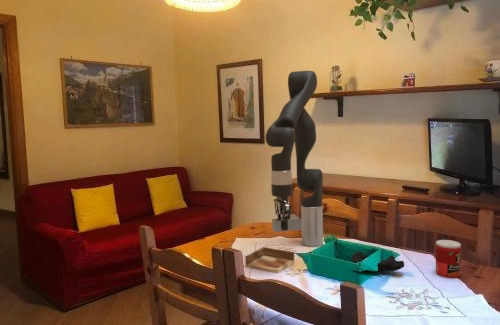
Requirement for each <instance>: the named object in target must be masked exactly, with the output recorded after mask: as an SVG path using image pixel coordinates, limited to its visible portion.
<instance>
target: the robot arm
mask: <svg viewBox="0 0 500 325" xmlns="http://www.w3.org/2000/svg"><path fill="white" fill-rule="evenodd" d="M287 87H288V95H289V99H290V100H288V101H287V102H286V103H285V104H284V106H283V107H282V108H281V109H282V110H281V112H280V114H279V116H278V117H277V119H276V120H275V121H273V123H272V124H271V125H270V126H269V128H268V129H267V131H266V133H265V142H266V144H267V145H268V146H269V147H271V148H272V147H273V148H282V150H281V152H279V153H275V154H272V156H271V160H270V162H271V175H270V180H271V183H270V184H271V186H270V188H271V196H272V197H275V198H274V199H273V202H274V203H273V204H274V210H275V211H274V212H275V215H276V217H277V218H281V226H282V230H283V231H282V232H287V231H286V230H288V220H289V219H290V215H291V212H292V211H291V210H292V205H291V204H290V201H289V199H288V197H291V196H292V195H293V175H292V162H291V161H292V154H293V150H294V147H295V159H296V160H295V161H296V163H295V164H296V183H297V187H298V189H299V190H301V191H313V194H311V195H309V196H306V197H303V198H302V199H301V200H300V205H301V206H300V207H301V208H300V209H301V210H300V214H301V215H300V216H301V217H300V218H301V229H302V230H301V245H303V246H306V247H319V246H322V245H323V244H324V224H323V223H324V222H323V221H324V219H323V218H324V215H323V187H324V186H323V182H324V179H323V178H324V176H323V171H322V170H321V169H319V168H306V160H307V158H308V156H309V154H310V153H311V151H312V150H313V147H315V144H316V141H317V130H316V124H315V121H314V120H313V117H311V115H310V114H309V113H308V110H307V109H306V108H305V107H306V105H307V104H308V102H309V101H310V99H311V98H312V97H313V95H314V93H315V92H316V90H317V87H318V77H317V74H316V72H315V71H313V70H297V71H291V72H290V73H289V74H288V77H287ZM285 215H286V216H285Z"/></svg>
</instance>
